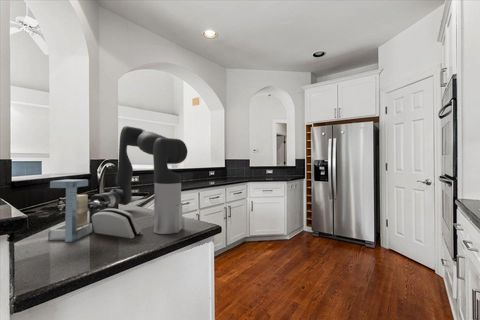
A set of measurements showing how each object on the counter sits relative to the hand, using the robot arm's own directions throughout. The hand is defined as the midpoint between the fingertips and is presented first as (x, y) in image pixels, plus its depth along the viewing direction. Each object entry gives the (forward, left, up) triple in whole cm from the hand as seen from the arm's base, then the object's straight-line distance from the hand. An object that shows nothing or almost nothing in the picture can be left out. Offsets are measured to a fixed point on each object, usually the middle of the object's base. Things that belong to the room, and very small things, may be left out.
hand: (78, 208), depth 90 cm
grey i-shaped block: (-4, +11, -7) cm, 13 cm away
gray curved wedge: (-18, +8, -7) cm, 21 cm away
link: (0, 0, -7) cm, 7 cm away
